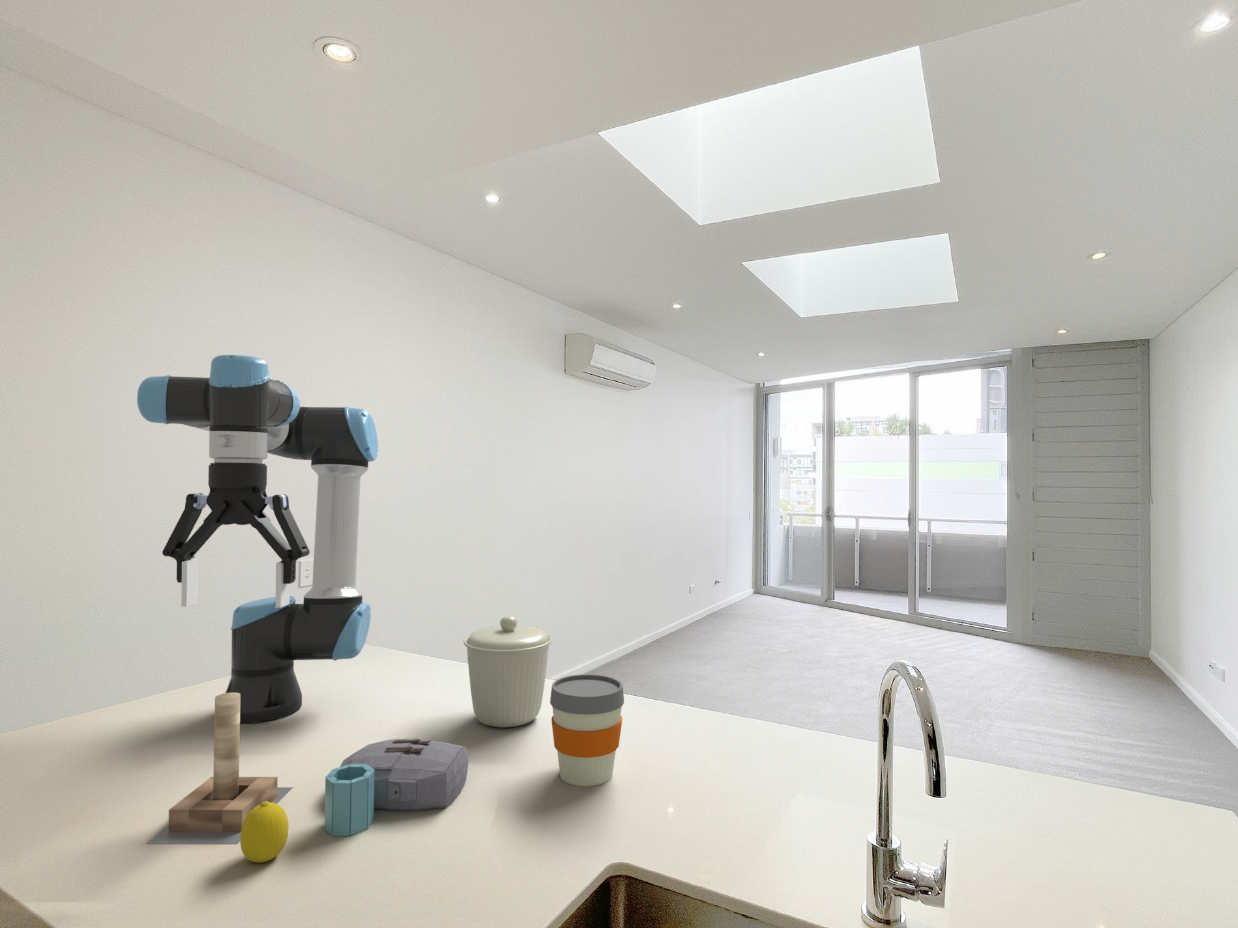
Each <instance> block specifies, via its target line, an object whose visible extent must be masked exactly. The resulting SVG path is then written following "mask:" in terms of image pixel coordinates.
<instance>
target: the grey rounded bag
mask: <svg viewBox="0 0 1238 928" xmlns="http://www.w3.org/2000/svg"><path fill="white" fill-rule="evenodd" d="M348 764H349V765H350V764H367V765H369V766H370V767H372V768H373V769H374V810H385V811H386V810H387V811H410V812H411V811H426V810H433V809H447V808H448V807H449V806H450V805H451V804H452V803H454V801H455V800H456V798H457V797H458V796H459V795H460V794H461V792H462V790H463V787H464V786H465V784H466V781H467V776H468V770H469V753H468V751H467V748H466V746H462V745H458V744H454V743H449V742H444V741H437V740H432V739H429V740H428V739H421V738H420V737H419V738H417V737H416V738H394V739H393V738H392V739H387V740H382V741H378V742H374V743H370V744H366V745H365V746H363V747H362V748H360V749H358V750H356V751H355V752H354V753H352V754H351V755H349V756H348V757H346V758H345V759H343V760H342V763H341V764H340V766H339V767H341V766H345V765H348Z"/></svg>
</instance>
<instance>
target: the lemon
mask: <svg viewBox="0 0 1238 928" xmlns="http://www.w3.org/2000/svg"><path fill="white" fill-rule="evenodd" d="M289 827H290V826H289V819H288V816H287V813H286V811H285V809H284V808H283V806H281V805H280V804H278V803H277V804H275V803H271V802H268V801H264V802H263V803H262V804H260V805H258V806H256V807H255V808H253V809H252V810H251V811H250V812H249V813H248V815H247V816H246V818H245V820H244V822H243V825H242V829H241V834H240V842H239V843H240V844H239V845H240V849H241V852H242V854H243V856H245V858H246V859H247V860H248V861H250V862H253V863H259V864H260V863H265V862H266V863H267V862H269V861H271V860H273V859H274V858H275V857H277V856H278V855H279V854H280V853H281V852H282V850H283V849H284V847H285V846H286V843H287V842H288V841H287V840H288V837H289V836H288V835H289Z"/></svg>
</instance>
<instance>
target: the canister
mask: <svg viewBox="0 0 1238 928" xmlns="http://www.w3.org/2000/svg"><path fill="white" fill-rule="evenodd" d="M552 641H553V637H552V635H551V634H549V633H547V632H546V631H544V630H543V629H540V628H538V627H534V626H528V625H521V624H518V620H517V618H516V617H514V616H512V615H506V616H503V617H502V618H501V619H500V621H499V625H494V626H488V627H484V628H480V629H477V630H475V631H473V632H472V633H471V634H470V635H467V636H466V637H464V639H463V642H462V643H463V645H464V646H465V647H466V651H467V652H466V653H467V666H468V674H469V686H470V695H471V703H472V710H473V713H474V716H475V717H476V719H477V720H478V721H479V723H481V724H484V725H485V726H486V725H487V726H489V727H494V728H514V727H519V726H524V725H526V724H528V723H530V722H532V721H533V720H535V719H536V717H537V716H538V715H539V713H540V711H541V707H542V702H543V697H544V691H545V690H544V689H545V682H546V674H547V665H548V658H549V648H550V645H551V644H552Z"/></svg>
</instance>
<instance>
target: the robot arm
mask: <svg viewBox="0 0 1238 928" xmlns="http://www.w3.org/2000/svg"><path fill="white" fill-rule="evenodd" d="M138 386H139V387H138V388H137V396H136V397H137V399H136V403H137V407H138V411H139V413H140V415H141V416H142V417H143V418H144V419H145V420H146V421H148V422H149V423H152V424H154V423H157V424H164V425H169V424H176V425H177V424H178V425H184V426H189V427H193V428H196V429H199V430H203V431H207V432H208V433H209V435H208V437H209V438H208V441H209V443H208V449H209V450H208V456H209V458H210V459H213V462H210V464H209V465H208V478H207V479H208V481H207V483H208V487H209V492H208V495H205V494H203V493H202V492H196V493H188V494H187V495H186V497H185V503H184V509H183V511H182V513H181V515H180V517H179V519H178V520H177V522H176V525H175V527H174V528H173V531H172V532H171V534H170V536H169V537H168V539H167V542H166V544H165V546H164V547H163V549H162V552H161V553H162V555H163V556H164V557H170V558H172V559H174V560H175V561H176V582H177V583H178V584H181V598H180V599H181V600H180V601H181V602H180V606H181V607H185V608H186V607H189V606H192V605H195V604H198V603H199V561H200V560H199V559H198V558H196V556H195V555H196V554H197V553H198V552H199V551H200V549H201V548H202V547H203V546H204V545H205V544H206V542H208V541H209V540H210V538H211V537H212V536H213V535H214V534H215V532H216V531H217V530H218V529H219V528H220V527H221V526H223V525H225V526H229V525H238V526H246V525H250V527H252V528H254V529H255V530H256V531H257V532H258V533H259V534H260V535H261V537H262V538H263V539H264V541H265V542H266V543H267V545H269V547H271V549H272V551H274V553H275V554H276V555H277V556H278V557H279V559H280V561H278V562H276V563H275V596H272V597H265V598H261V599H257V600H253V601H248V602H245V603H242V604H240V605H239V606H237V607H236V608H235V609H234V611H233V613H232V621H231V622H232V624H231V626H230V627H231V628H230V630H231V671H230V675H231V676H230V679H229V681H228V684H227V688H226V690H225V693H240V724H241V723H242V724H246V723H247V724H249V723H260V722H265V721H266V722H267V721H272V720H276V719H281V718H283V717H287V716H289V715H291V714H293V713H296V712H298V711H299V709H300V710H301V708H302V706H303V694H302V690H301V688H300V685H299V682H298V679H297V676H296V673H295V670H294V669H295V667H294V664H295V663H294V661H312V660H313V661H314V660H315V661H316V660H317V661H318V660H332V661H335V662H336V661H338V660H348V659H354V658H355V657H357V656H358V655H360V653H361V651H362V650H363V648H364V646H365V645H366V644H365V643H366V641H367V637H368V635H369V630H370V624H371V618H372V617H371V616H372V615H371V609H372V608H371V606H370V604H369V603H367V602H366V601H365V602H364V601H363V593H362V592H361V591H360V590H359V589H358V588H357V586H356V579H357V578H356V577H357V561H358V560H357V557H358V556H357V553H358V540H359V539H358V538H359V537H358V536H359V534H358V533H359V517H360V516H359V514H360V494H361V491H360V490H361V478H362V476H363V475H364V474H366V472H367V471H368V470H369V463H370V462H371V463H372V462H373V461H374V462H375V461H376V459H377V458H378V452H379V451H378V450H379V445H378V444H379V443H378V434H377V428H376V424H375V421H374V418H373V416H372V415H371V413H370V412H369V411H368V410H366V409H363V408H356V407H355V408H354V407H349V406H345V407H343V406H339V407H337V406H335V407H333V406H332V407H331V406H330V407H329V406H328V407H327V406H325V407H323V406H322V407H321V406H320V407H318V406H316V407H315V406H314V407H313V406H301V404H300V403H301V401H300V399H299V396H298V394H297V392H296V391H295V390H294V389H293V388H292V387H290V386H289V385H287V384H286V383H284V381H280V380H278V379H277V380H274V379H271V377H270V373H269V365H268V362H267V361H266V360H265V359H263V358H260V357H255V356H252V355H251V356H249V355H239V354H220V355H217V356H214V357H213V358H212V360H211V363H210V373H209V377H199V376H198V377H197V376H195V377H194V376H174V375H173V376H171V375H169V374H168V375H163V376H162V375H161V376H160V375H158V376H149V377H146V378H145V379H144V380H142V382H140V385H138ZM268 454H271V455H273V456H277V457H281V458H287V459H292V460H300V461H301V460H303V461H310V469H312V470H313V471H314V472H315V474H317V476H318V477H317V489H316V490H317V492H316V495H317V496H316V511H315V529H314V530H315V531H314V546H313V547H314V548H313V563H312V566H313V567H312V582H311V583H312V585H311V588H310V589H309V590H308V591H307V592H306V593H305V594H303V603H296V601H297V600H296V598H295V597H294V596H293V595H290V592H291V591H290V590H291V589H290V587H291V586H290V585H291V584H293V583H295V582H296V577H297V576H296V571H297V560H299V559H301V558H305V557H307V556H309V555H310V549H309V547H308V545H307V543H306V541H305V539H304V536H303V534H302V532H301V530H300V527H299V525H298V524H297V522H296V520H295V518H294V515H293V513H292V512H291V509H290V503H289V501H290V500H289V496H288V495H287V494H283V493H282V494H274V495H272V496H268V495H267V491H266V489H267V484H268V480H267V479H268V465H266V463H263V460H266V459H267V458H268ZM206 506H208V508H209V509H210V513H209V514H208V515H207V516H206V517H205V518H204V519H203V523H202V524H201V525H200V526H199V527H198V528H197V530H195V532H194V533H193V534H192V535H191V533H192V531H193V529H195V528H194V527H195V525H196V524H197V522H198V520H199V518H200V516H201V515H202V512H203V509H205V507H206ZM268 506H269V508H270V509H271V510H272V512H273V514H274V516H275V519H276V521H277V523H278V525H279V526H280V529H281V531H282V533H283V535H284V536H283V535H282V534H281V533H280V532H279V531H278V529H277V527H275V526H274V524H273V523H272V522H271V521H272V520H271V518H270V517H269V515H267V514H266V512H265V511H264V510H265V509H266V508H267V507H268ZM190 535H191V536H190ZM284 537H285V538H284ZM194 558H196V559H194Z"/></svg>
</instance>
